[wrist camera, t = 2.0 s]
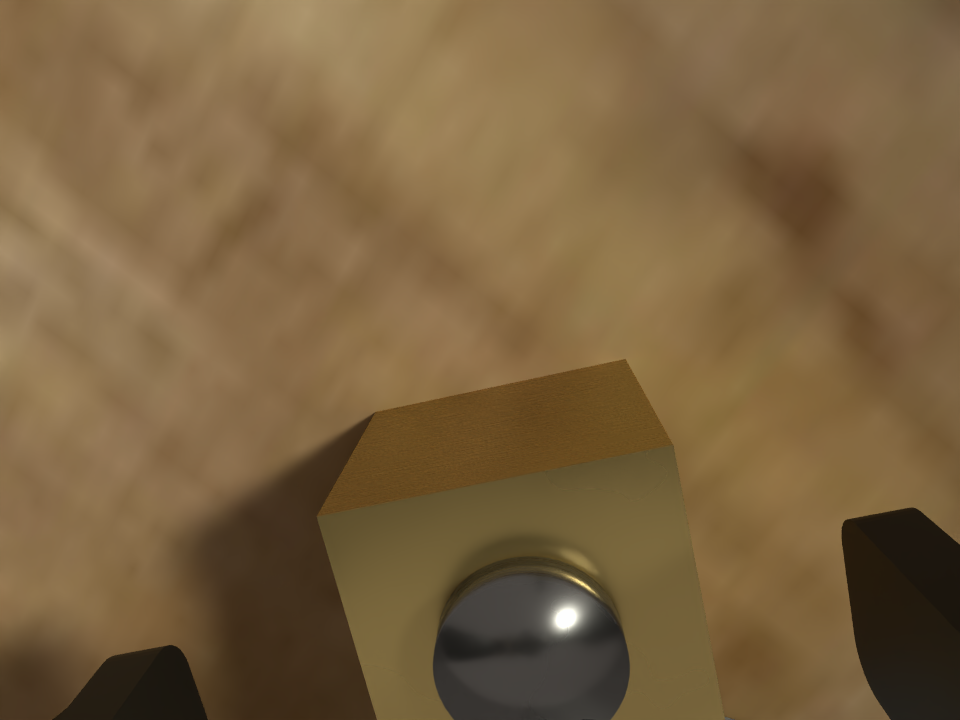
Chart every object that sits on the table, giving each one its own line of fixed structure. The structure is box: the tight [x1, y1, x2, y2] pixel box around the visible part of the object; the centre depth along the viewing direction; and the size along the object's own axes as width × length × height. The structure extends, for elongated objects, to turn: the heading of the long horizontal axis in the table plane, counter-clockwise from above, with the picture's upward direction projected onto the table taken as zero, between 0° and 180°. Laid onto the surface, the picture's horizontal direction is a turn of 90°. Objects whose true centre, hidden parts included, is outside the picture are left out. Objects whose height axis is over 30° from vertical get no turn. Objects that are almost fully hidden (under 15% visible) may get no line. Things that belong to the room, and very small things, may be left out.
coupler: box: [317, 359, 725, 720], centre depth 12 cm, size 4×4×5 cm
